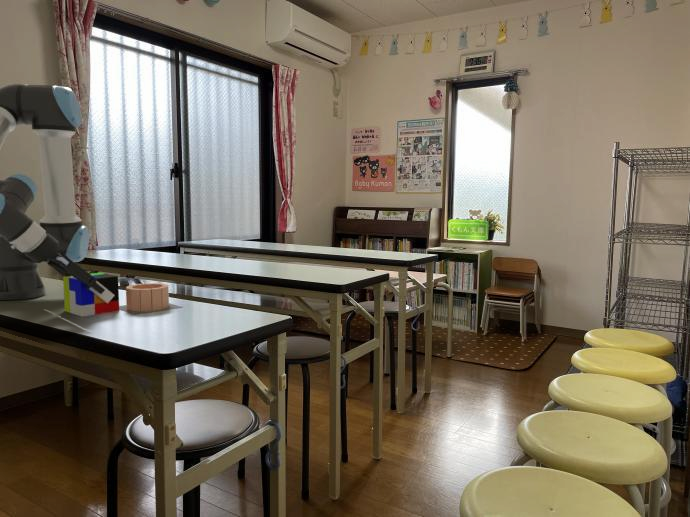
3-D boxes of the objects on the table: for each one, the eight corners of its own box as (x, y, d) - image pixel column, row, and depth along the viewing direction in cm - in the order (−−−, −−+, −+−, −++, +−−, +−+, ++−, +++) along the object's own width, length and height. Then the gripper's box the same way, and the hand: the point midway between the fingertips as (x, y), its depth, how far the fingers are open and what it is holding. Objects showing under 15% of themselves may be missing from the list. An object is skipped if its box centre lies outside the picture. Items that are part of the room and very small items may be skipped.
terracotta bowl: (120, 307, 143) (119, 286, 142) (157, 301, 151) (157, 281, 150) (137, 313, 135) (136, 291, 135) (175, 307, 143) (175, 286, 143)
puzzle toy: (82, 318, 131) (80, 280, 130) (64, 312, 137) (63, 276, 136) (119, 312, 139) (117, 276, 138) (101, 307, 145) (100, 272, 144)
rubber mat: (113, 308, 143) (113, 306, 143) (160, 302, 153) (160, 300, 153) (134, 316, 133) (134, 315, 133) (183, 309, 143) (183, 307, 143)
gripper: (11, 250, 133) (77, 301, 146) (38, 258, 117) (109, 313, 130) (33, 229, 136) (96, 280, 149) (61, 234, 120) (129, 291, 133)
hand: (102, 296), depth 140 cm, fingers closed on puzzle toy, 11 cm apart
